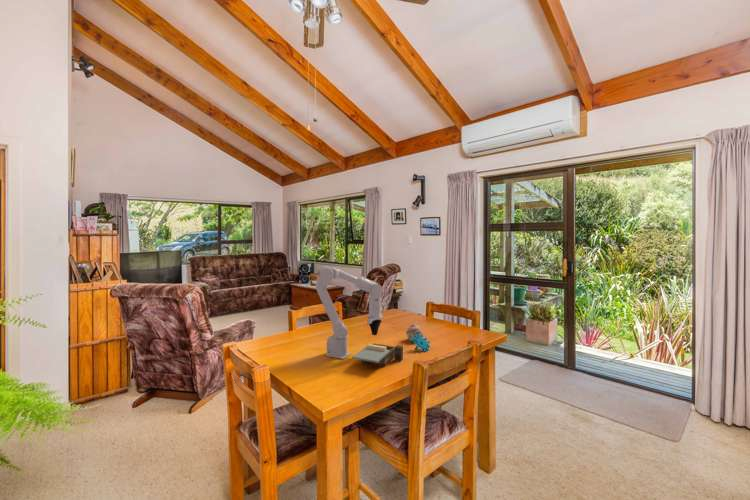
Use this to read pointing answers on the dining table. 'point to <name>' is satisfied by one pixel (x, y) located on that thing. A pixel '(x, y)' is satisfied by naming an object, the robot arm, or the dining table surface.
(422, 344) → the gear
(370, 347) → the lid
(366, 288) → the robot arm
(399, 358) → the block
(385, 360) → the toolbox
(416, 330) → the cupcake
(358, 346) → the dining table surface
